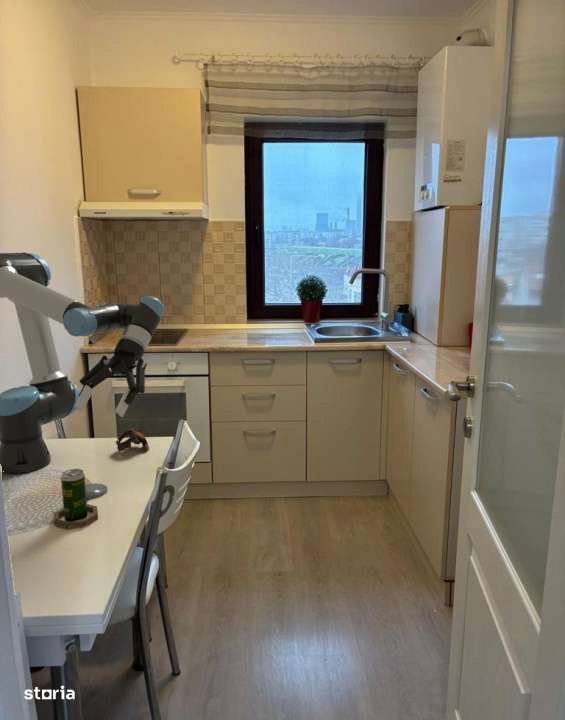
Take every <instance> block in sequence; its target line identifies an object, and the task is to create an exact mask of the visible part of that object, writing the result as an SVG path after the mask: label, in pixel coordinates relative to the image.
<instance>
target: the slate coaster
mask: <svg viewBox="0 0 565 720" xmlns="http://www.w3.org/2000/svg"><path fill="white" fill-rule="evenodd" d="M85 486H86V499H88V500H93V499H97V497H98V498H100V497H102V496H103V495H104V496H105V495H106V494H107V492H108V487H107V485H105V484H104V483H103V484H102V483H98V482H97V483H95V482H94V483H85Z"/></svg>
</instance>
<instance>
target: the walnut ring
mask: <svg viewBox="0 0 565 720" xmlns="http://www.w3.org/2000/svg"><path fill="white" fill-rule="evenodd" d="M87 512H88V513H91V514H90V515H88V516H87V518H85V519H83V520H77V521H71V522H67V521H65V520H63V519H61V518H62V517H63V518H64V509H63V507H62V508H60V509H59V510H57V511H55V512H54V513H53V527H56V528H58V529H61V530H66V531H67V530H68V531H69V530H75V529H80V528H86V527H88V526H90V525H92V524H93V523H95V522H96V521H98V519H99V512H98V506H96V505H93V504H89V503H87Z"/></svg>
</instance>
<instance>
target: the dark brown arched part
mask: <svg viewBox="0 0 565 720" xmlns="http://www.w3.org/2000/svg"><path fill="white" fill-rule="evenodd" d="M128 436H129V438H127V439H126V440H124V439H125V438H126V437H128ZM123 440H124V441H123ZM132 443H133V444H134V445H140V444H141V446H142V447H143V446H144V447H143V448H144V449H145V450H146V452H147V451H148V450H149V451H150V446H149V443H148V440H147V439H146V437H145V435H144V434H143V433H142V431H141V430H140V429H139V428H136V427H135V428H130V429H127V430H125V431H124V432H122V433H121V434H120V435H119V436H118V437H117V440H116V441H115V444H116V445H117V446H116V447H117V449H116V450H117V451H118V452H122V451H123V450H127V449H130V450H132V449H133V448H132ZM149 451H148V452H149Z"/></svg>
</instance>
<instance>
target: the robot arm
mask: <svg viewBox="0 0 565 720" xmlns="http://www.w3.org/2000/svg"><path fill="white" fill-rule="evenodd" d="M51 279H52V274H51V269H50V266H49V265H48V262H46V260H45V259H44V258H43V257H41V256H40V255H39V254H35V253H30V252H0V298H1V299H3V298H7V300H9V301H10V302H12V303H13V304H14V307H15V310H16V311H15V312H16V315H17V319H18V322H19V323H18V324H19V326H20V330H21V335H22V339H23V343H24V347H25V351H26V355H27V358H28V363H29V368H30V371H31V375H32V378H31V380H30V381H29V383H28V384H29V385H22V386H18V387H12V388H8V389H7V390H4V391H3V392H1V393H0V464H1V466H2V472H1V473H2V474H7V473H17V474H22V473H21V472H25V473H28V472H27V471H30V472H33V471H32V470H34V471H37V469H38V470H41V469H43V468H45V467H46V466H48V465H49V464H50V463H51V461H52V460H51V459H52V458H51V453H50V450H49V449H48V446H47V444H46V443H45V440H44V438H43V430H42V426H43V425H46V424H49V423H52V422H55V421H57V420H60V419H65V418H67V417H68V416H70V415H72V414H73V413H74V412H75V411H76V410H78V411H79V412H83V411H84V409H85V407H86V405H87V404H88V401H89V400H90V398H91V396H92V394H93V393H94V390H93V389H94V388H95V387H96V386H98V385H99V384H102V382H105V380H107V379H108V378H110V377H113V376H119V375H121V376H125V379H126V382H127V386H128V387H127V389H125V390H124V393H123V394H122V396H121V399H120V401H119V403H118V404H117V406H116V408H115V411H114V412H115V413H116V414H117V415H118V416H119V417H121V418H123V417H124V416H125V413H126V412H127V410H128V408H129V405H131V404H132V403H133V401H134V399H135V397H136V395H138V394H144V393H145V392H146V387H145V386H146V385H145V384H146V378H145V377H146V376H145V374H146V373H145V372H146V368H147V365H148V363H147V362H146V361H144V359H143V356H144V355H145V351H146V350H147V348H148V346H149V343H150V342H151V340H152V338H153V335H154V333H155V332H156V329H157V328H158V326H159V324H160V322H161V321H162V318H163V315H164V313H165V309H166V308H165V306H164V304H163V302H161V300H159V299H158V298H157V297H154V296H151V295H146V296H143V297H141V299H140V300H139V302H138V303H130V304H129V303H121V302H120V303H116V302H114V301H112V302H104V303H100V305H93V306H89V305H86V304H84V303H83V302H80V301H77V300H76V299H73V298H71V297H69V296H68V295H65V294H63V293H60V292H58V291H56V290H54V289H52V288H50V287H49V285H50V283H51V281H50V280H51ZM49 319H52V320H53V321H56V322H57V323H59V324H62V325H63V327H64V329H65V331H66V332H67V333H68V334H69V335H70V336H73V337H77V338H78V337H88V336H91V335H95V334H101V333H104V332H105V333H106V332H111V331H117V330H124V331H123V333H122V335H121V336H120V339H119V340H118V343H116V346H115V347H114V350H113V351H114V353H113V356H112V357H108V356H106V355H102V357H101V358H100V360H99V362H97V363H96V364H95V365H94V366H93V367H92V368H91V369H90V370H89V371H88V372H87V373H86V374H85V375H84V376H82V377H81V379H80V380H79V383H80V384H81V385H82V386H83V387H82V388H81V390H79V387H78V385H76V384H75V383H74V382H73V381H72V380H69V377H68V375H67V374H66V373H65V372H63V371H62V369H61V365H60V362H59V356H58V354H57V349H56V345H55V341H54V336H53V332H52V329H51V324H50V321H49ZM134 369H135V374H134ZM3 471H4V473H3Z"/></svg>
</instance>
